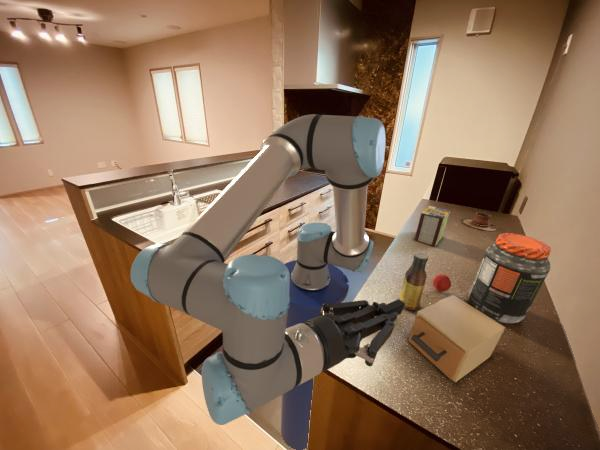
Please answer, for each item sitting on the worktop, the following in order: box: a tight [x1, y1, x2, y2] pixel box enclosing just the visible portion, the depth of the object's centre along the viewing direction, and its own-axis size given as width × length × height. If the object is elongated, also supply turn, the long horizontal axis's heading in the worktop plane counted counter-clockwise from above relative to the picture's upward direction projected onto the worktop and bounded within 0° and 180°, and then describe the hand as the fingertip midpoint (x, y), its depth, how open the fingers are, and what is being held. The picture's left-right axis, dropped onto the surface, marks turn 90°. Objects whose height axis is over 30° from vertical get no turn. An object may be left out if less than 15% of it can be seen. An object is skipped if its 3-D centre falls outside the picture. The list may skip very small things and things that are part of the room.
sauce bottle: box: [399, 251, 429, 311], centre depth 80 cm, size 7×6×20 cm
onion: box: [432, 273, 452, 293], centre depth 90 cm, size 6×6×8 cm
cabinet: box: [415, 294, 506, 383], centre depth 67 cm, size 16×14×11 cm
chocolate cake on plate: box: [462, 212, 497, 232], centre depth 152 cm, size 18×18×7 cm
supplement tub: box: [468, 232, 552, 324], centre depth 79 cm, size 16×16×26 cm
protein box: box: [414, 205, 451, 247], centre depth 129 cm, size 10×15×16 cm
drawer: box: [407, 315, 466, 381], centre depth 65 cm, size 19×13×9 cm, turn 118°
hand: (399, 306), depth 51 cm, fingers closed
